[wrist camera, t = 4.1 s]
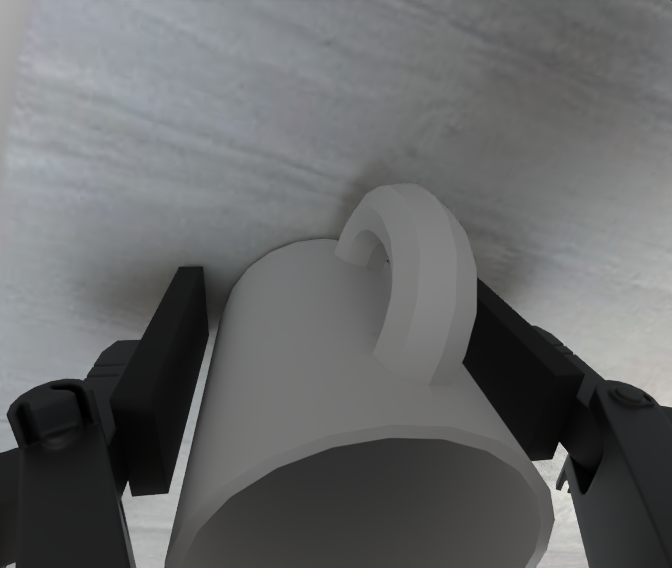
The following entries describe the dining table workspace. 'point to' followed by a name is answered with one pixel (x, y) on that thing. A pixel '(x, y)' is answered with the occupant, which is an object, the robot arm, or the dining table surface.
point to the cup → (357, 411)
